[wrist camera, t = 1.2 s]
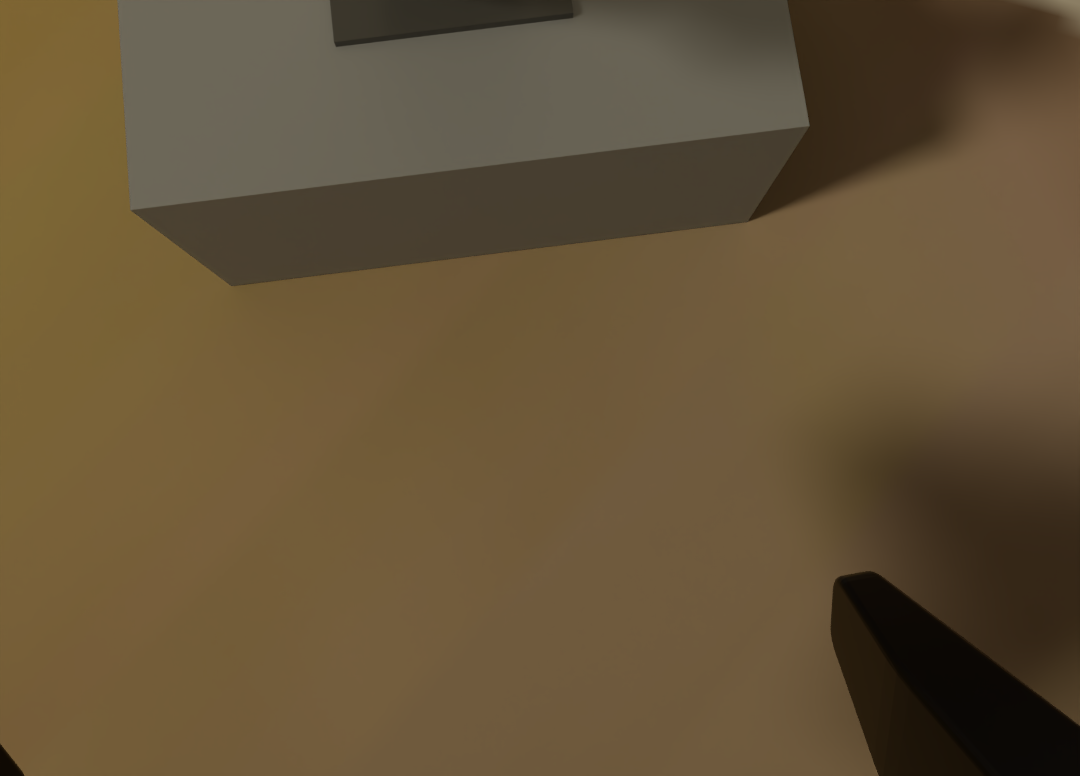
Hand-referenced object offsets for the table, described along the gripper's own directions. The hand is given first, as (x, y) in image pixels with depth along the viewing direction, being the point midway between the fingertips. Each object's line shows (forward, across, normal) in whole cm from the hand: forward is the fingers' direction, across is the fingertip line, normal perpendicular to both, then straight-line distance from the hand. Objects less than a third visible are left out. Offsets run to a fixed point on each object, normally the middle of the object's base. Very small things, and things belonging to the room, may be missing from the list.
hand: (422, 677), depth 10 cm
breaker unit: (+20, -2, -1) cm, 20 cm away
